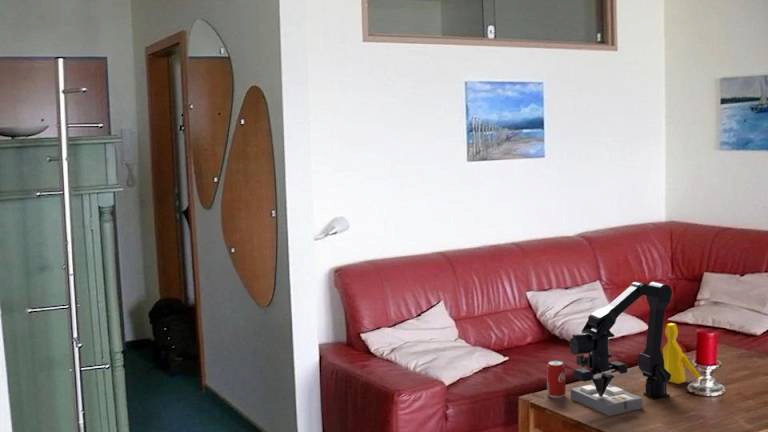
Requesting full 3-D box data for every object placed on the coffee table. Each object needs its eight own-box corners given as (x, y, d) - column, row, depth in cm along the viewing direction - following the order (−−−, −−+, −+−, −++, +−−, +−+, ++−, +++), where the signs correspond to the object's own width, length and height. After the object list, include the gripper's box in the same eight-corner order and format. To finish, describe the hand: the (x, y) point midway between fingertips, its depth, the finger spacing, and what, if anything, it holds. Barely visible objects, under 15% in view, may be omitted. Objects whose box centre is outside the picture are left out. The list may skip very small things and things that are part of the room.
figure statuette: (703, 384, 298) (703, 324, 295) (691, 389, 293) (691, 328, 290) (659, 374, 312) (658, 316, 309) (647, 379, 307) (646, 320, 304)
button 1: (590, 391, 289) (590, 384, 289) (597, 395, 285) (597, 388, 285) (580, 393, 287) (580, 386, 287) (588, 397, 284) (588, 390, 283)
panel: (603, 391, 295) (602, 381, 295) (642, 408, 277) (642, 397, 277) (570, 398, 289) (570, 387, 289) (608, 416, 271) (608, 404, 271)
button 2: (601, 400, 284) (601, 393, 283) (609, 403, 280) (609, 396, 280) (592, 402, 282) (592, 395, 282) (599, 405, 278) (599, 398, 278)
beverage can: (565, 399, 289) (564, 365, 288) (547, 398, 291) (546, 365, 289) (565, 393, 295) (564, 360, 294) (547, 392, 297) (546, 360, 295)
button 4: (615, 393, 286) (615, 386, 286) (623, 396, 282) (623, 389, 282) (606, 395, 284) (606, 388, 284) (613, 399, 281) (613, 391, 280)
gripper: (606, 341, 290) (607, 384, 292) (562, 349, 282) (563, 393, 284) (628, 348, 280) (628, 393, 282) (583, 357, 272) (584, 403, 274)
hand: (600, 395), depth 281 cm, fingers closed, pressing on button 2
